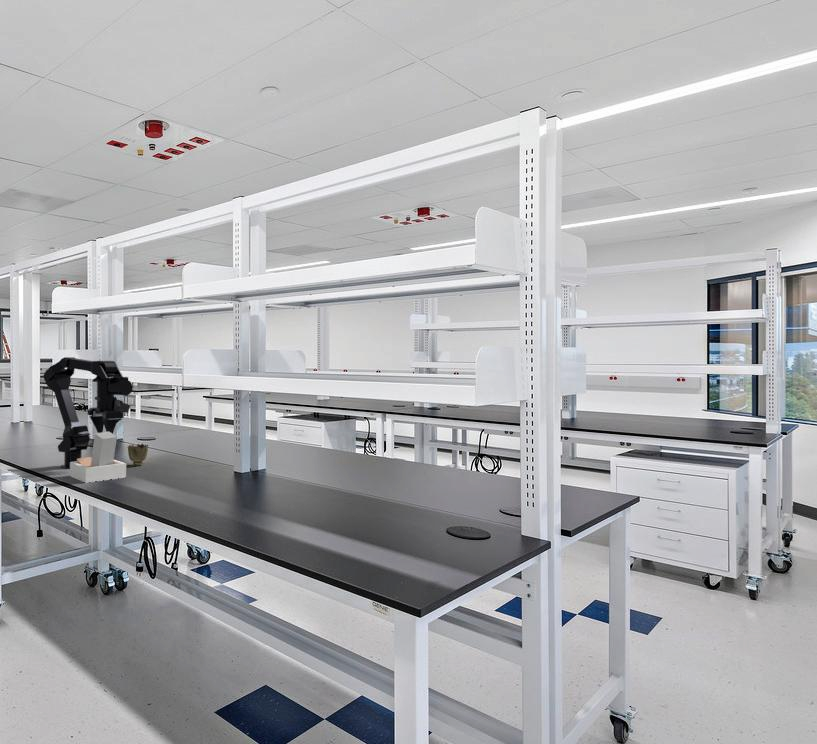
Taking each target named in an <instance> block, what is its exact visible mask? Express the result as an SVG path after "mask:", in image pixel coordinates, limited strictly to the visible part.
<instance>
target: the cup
mask: <svg viewBox="0 0 817 744" xmlns="http://www.w3.org/2000/svg"><path fill="white" fill-rule="evenodd" d="M148 451H149V445H148V444H143V443H141V444H140V443H137V444H136V445H134V444H129V445H127V453H128V459H129V461H131V462H132V465H133V466H135V467H140V466H139V465H141V466H143V463H144V461H145V460H146V458H147V456H148Z"/></svg>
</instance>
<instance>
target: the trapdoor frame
mask: <svg viewBox="0 0 817 744" xmlns="http://www.w3.org/2000/svg"><path fill="white" fill-rule="evenodd" d="M113 463H114V464H113V465H104V466H96V467H86V466H84V465H81V464H78V462H77V461H75V462H70V468H69V477H70V478H73V479H76V480H78V481H80V482H83V483H84V482H85V484H88V483H89V482H90V483H96V482H95V481H97V482H102V481H103V480H104V481H111V480H110V479H112V480H118V478H119V479H125V477H126V478H127V463H125V462H122V461H119V460H117V459H114V461H113ZM104 481H103V482H104ZM90 483H89V484H90Z"/></svg>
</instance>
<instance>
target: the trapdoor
mask: <svg viewBox="0 0 817 744" xmlns="http://www.w3.org/2000/svg"><path fill="white" fill-rule="evenodd" d="M91 458H92V456H89V457H82V458H78V459H77V462H78V464H81V465H84V466H86V467H91ZM113 464H114V463H113Z"/></svg>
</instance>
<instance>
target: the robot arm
mask: <svg viewBox="0 0 817 744" xmlns="http://www.w3.org/2000/svg"><path fill="white" fill-rule="evenodd" d="M75 370H81V371H86V372H90V373H91V374H92V375H95V377H94V378H93V379H92V382H94V383H96V396H94V400H95V401H96V406H95V407H93V406H92V407H90V408H88V409H87V415H88V416H89V418H90V420H91V422H92V424H93V426H94V428H95V430H96V433H102V432H104V429H105V432H108V431H109V432H111V433H112V434H114V431H115V429H116V426H117V423H119V422H120V421H122V420H123V419H124V415H125V413H126V414H128V413H129V411H130V409H131V405H130V404H128V403H124V400H121V399H118V398H117V396H129V395H130V394H132V392H133V389H134V386H133V383H132V382H131V380H129V377H128V376H123V374H122V372H121V370H120V368H119V367H118V364H117V362H115V361H114V360H88V359H82V358H76V357H74V356H73V357H66V356H65V357H63V358H61V359H60V360H59V361H58V362H56V363H54V364H52V365H50V366H49V367H48V368H47V369H46V370H45V372H44V374H43V380H44V382H45V384H46V387H48V388H49V390H51V391H52V392H53V393H54V396H55V400H56V402H57V406H58V409H59V412H60V414H61V418H62V421H63V424H64V429H63V433H62V438H63V439H62V440H61V441H60V443H59V444H58V445H57V449H58V452H60V453H64V454H63V456H64V458H63V459H64V464H60V467H62V468H65V469H70V462H75V461H77V459H78V458H83V457H82V456H83V455H82V451H87V450H88V447H89V443H90V441H91V437H90V436H91V434H90V431H89V427H88V425H83V424H82V423H80V420H79V417H78V413H77V410H76V407H75V405H74V401H73V397H72V395H71V392H70V386H71V382H72V379H71V378H72V376H73V375H74V374H75Z"/></svg>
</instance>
